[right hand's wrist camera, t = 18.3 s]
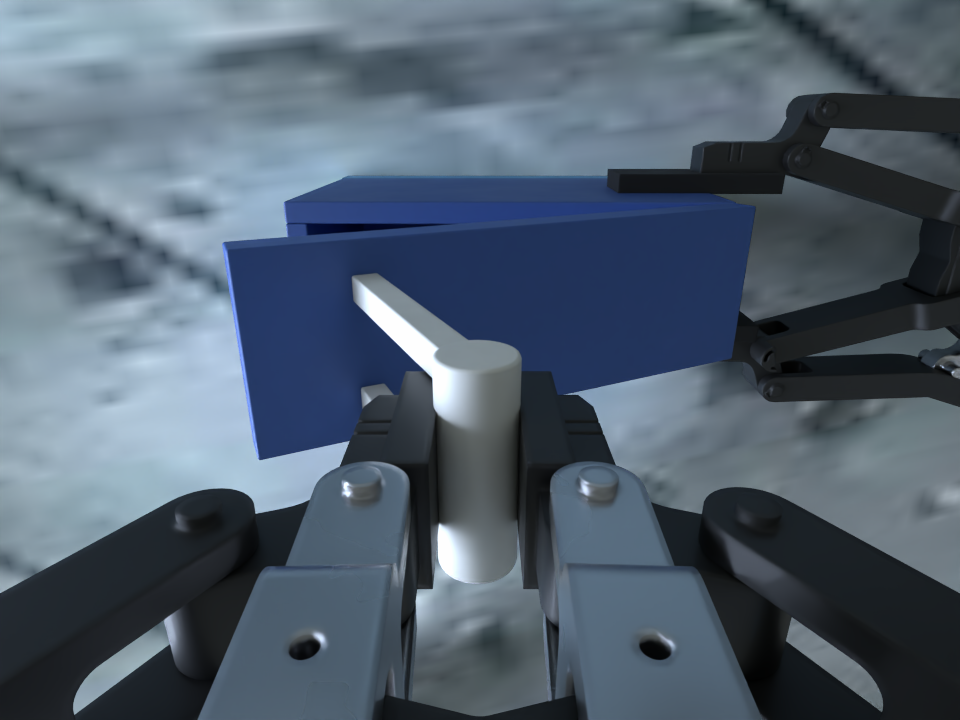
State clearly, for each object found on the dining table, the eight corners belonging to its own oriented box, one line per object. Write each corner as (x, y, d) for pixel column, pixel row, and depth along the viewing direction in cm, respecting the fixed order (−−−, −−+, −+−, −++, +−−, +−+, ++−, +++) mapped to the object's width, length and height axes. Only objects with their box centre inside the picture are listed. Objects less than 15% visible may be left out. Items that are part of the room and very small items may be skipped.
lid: (253, 442, 17) (316, 681, 10) (221, 241, 15) (272, 356, 8) (710, 349, 24) (946, 450, 17) (731, 202, 22) (1012, 243, 14)
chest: (356, 280, 34) (299, 346, 24) (348, 175, 32) (282, 201, 22) (651, 281, 34) (715, 348, 24) (662, 175, 32) (738, 201, 22)
